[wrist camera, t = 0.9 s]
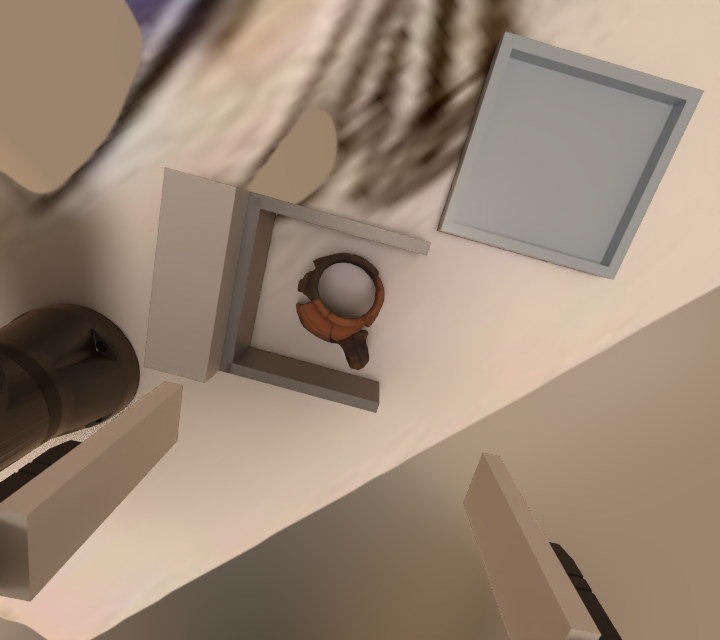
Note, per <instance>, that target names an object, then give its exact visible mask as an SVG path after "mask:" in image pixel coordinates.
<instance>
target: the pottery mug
mask: <svg viewBox="0 0 720 640" xmlns="http://www.w3.org/2000/svg"><path fill="white" fill-rule="evenodd" d="M313 262H314V264H315V267H316V269H315V270H313V271H310V272H309V273H307V274H306V275H305V276H304V278H303V279H301V280H300V281H299V284H298V291H299V292H302V293H303V294H305V295H306V296H307V297H308V298H309V299H310V300H311V302H309V303H306V304H303V305H301V304H300V303H297V304H296V310H297V314H298V317H299V319H300V322H301V324H302V325H303V327H304V328H306V329H307V330H308V331H309V332H311V333H312V334H313V335H315V336H317V337H318V338H320V339H322V340H324V341H327V342H331V343H337V344H339V345H340V346H341V347H342V348H343V350H344V353H345V356H346V359H347V362H348V364H349V366H350V368H352V369H357V370H359V369H361V368H363V367H364V366H365V365H366V364H367V363H368V361H369V353H368V347H367V344H366V337H367V335H368V332H367V331H366V330H361V329H362V327H363V326H364V325H366V326H367V327H370V326H371V325H372V323H373V322H374V320H375V319H376V317H377V316H378V314H379V312H380V309H381V307H382V305H383V302H384V287H383V284H382V281H381V279H380V277H379V276H378V275H379V272H378V270H377V269H376V268H375V267H374V266H373V265H372V264H371V263H369V262H368V261H367V260H366V259H364V258H362V257H360V256H357V255H351V254H348V253H339V254H333V255H329V256H325V257H322V258H318V259H316V260H314V261H313ZM336 263H351V264H353V265H356V266H358V267H360V268H362V269H363V270H364V271H365V272H366V273H367V274H368V275H369V276H370V278H371V279H372V280H373V282H374V284H375V287H376V292H375V301H374V304H373V306H372V307H371V309H370V310H369V311H368V312H367V313H366V314H364V315H363V316H361V317H358V318H354V319H348V318H342V317H339V316H337V315H335V314H333V313H332V312H330V311H329V310H328V309H327V308H326V307H325V305H324V304H323V302H322V300H321V298H320V297H319V292H318V283H319V279H320V277H321V275H322V273H323V271H324V270H325V269H326V268H328V267H329V266H331V265H333V264H336Z"/></svg>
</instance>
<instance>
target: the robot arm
mask: <svg viewBox="0 0 720 640" xmlns="http://www.w3.org/2000/svg"><path fill="white" fill-rule="evenodd" d="M138 382H139V368H138V363H137V359H136V356H135V353H134V351H133V349H132V347H131V345H130V343H129V341H128V340H127V338H126V337H125V336H124V334H123V333H122V332H121V331H120V330H119V329H118V328H117V327H116V326H115V325H114V324H113V323H112V322H111V321H109V320H108V319H107V318H105V317H104V316H102V315H101V314H99V313H97V312H95V311H93V310H91V309H88V308H85V307H82V306H78V305H72V304H56V305H51V306H47V307H42V308H38V309H34V310H31V311H28V312H26V313H23V314H22V315H20V316H18V317H17V318H15V319H14V320H13V321H11V322H10V323H9V324H7V325H5V326H4V327H2V328H0V472H1V471H2V470H4V469H5V468H7V467H8V466H10V465H11V464H13V463H14V462H16V461H17V460H19V459H20V458H22V457H23V456H25V455H27V454H28V453H30V452H31V451H33V450H34V449H36V448H37V447H39V446H40V445H42V444H43V443H45V442H47V441H48V440H50V439H53V438H56V437H59V436H62V435H66V434H69V433H72V432H76V431H79V430H82V429H84V428H89V427H92V426H95V425H98V424H101V423H103V422H105V421H107V420H108V419H110V418H111V417H113V416H114V415H116V414H117V413H119V412H120V411H121V410H123V409H124V408H125V407H126V406H127V405H128V404H129V403H130V402H131V400H132V399H133V397H134V395H135V393H136V390H137V387H138ZM182 388H183V385H178V384H174V383H169V382H163V383H162V384H161V385H159V386H158V387H157V388H155V389H154V390H153V391H151V392H150V393H149V394H147V395H146V396H144V397H143V398H142V399H140V400H139V401H138V402H136V403H135V404H134V405H132V406H131V407H130V408H128V409H127V410H126V411H124V412H123V413H121V414H120V415H119V416H117V417H116V418H115V419H113V420H112V421H111V422H109V423H108V424H107V425H105V426H104V427H103V428H101V429H100V430H98V431H97V432H96V433H94V434H93V435H92V436H90V437H89V438H88V439H86V440H85V441H84V442H78V441H73V440H69V441H67V442H65V443H62V444H60V445H57V446H55V447H52V448H50V449H49V450H47V451H46V452H44V453H43V454H41V455H40V456H38V457H37V458H35V459H34V460H33V461H32V463H30V462H29V463H28V464H27V465H25V466H24V467H22V468H21V469H19V471H18V472H17V473H13V474H12V475H10V476H9V477H8V478H6V479H5V480H3V481H2V482H0V596H5V597H10V598H15V599H20V600H25V601H31V600H32V599H33V598H34V597H35V596H36V595H37V594H38V593H39V592H40V590H41V589H42V588H43V587H44V586H45V585H46V584H47V583H48V582H49V581H50V580H51V578H52V577H53V576H54V575H55V574H56V573H57V572H58V571H59V570H60V569H61V567H62V566H63V565H64V564H65V563H66V562H67V561H68V560H69V559H70V558H71V557H72V555H73V554H74V553H75V552H76V551H77V550H78V549H79V548H80V547H81V546H82V544H83V543H84V542H85V541H86V540H87V539H88V538H89V537H90V536H91V535H92V534H93V532H94V531H95V530H96V529H97V528H98V527H99V526H100V525H101V524H102V523H103V522H104V520H105V519H106V518H107V517H108V516H109V515H110V514H111V513H112V512H113V511H114V509H115V508H116V507H117V506H118V505H119V504H120V503H121V502H122V501H123V500H124V499H125V497H126V496H127V495H128V494H129V493H130V492H131V491H132V490H133V489H134V488H135V486H136V485H137V484H138V483H139V482H140V481H141V480H142V479H143V478H144V477H145V476H146V474H147V473H148V472H149V471H150V470H151V469H152V468H153V467H154V466H155V465H156V463H157V462H158V461H159V460H160V459H161V458H162V457H163V456H164V455H165V454H166V453H167V451H168V450H169V449H170V448H171V447H172V446H173V445H174V444H175V443H176V442H177V438H178V428H179V418H180V408H181V398H182ZM463 504H464V507H465V510H466V513H467V516H468V518H469V522H470V525H471V528H472V531H473V534H474V537H475V539H476V542H477V545H478V548H479V551H480V554H481V557H482V560H483V563H484V566H485V569H486V572H487V575H488V578H489V581H490V584H491V587H492V590H493V592H494V596H495V599H496V601H497V604H498V607H499V610H500V613H501V616H502V619H503V622H504V625H505V628H506V631H507V634H508V637H509V640H622V639H621V637H620V635H619V634H618V632H617V631H616V629H615V627H614V626H613V624H612V622H611V621H610V619H609V617H608V616H607V614H606V613H605V611H604V609H603V608H602V606H601V604H600V603H599V601H598V600H597V598H596V596H595V595H594V594H593V593H592V590H591V588H590V586H589V585H588V583H587V582H586V580H585V579H583V575H582V574H581V572H580V570H579V569H578V567H577V565H576V564H575V562H574V560H573V559H572V558H571V557H570V556H569V555H568V554H567V553H566V552H565V550H564V549H563V548H562V547H561V546H560V545H559V544H556V543H551V542H548V540H547V538H546V537H545V535H544V533H543V531H542V530H541V528H540V526H539V524H538V523H537V521H536V519H535V517H534V516H533V514H532V512H531V510H530V509H529V507H528V505H527V503H526V501H525V500H524V498H523V496H522V494H521V493H520V491H519V489H518V487H517V486H516V484H515V482H514V481H513V479H512V477H511V475H510V473H509V472H508V470H507V468H506V466H505V465H504V463H503V461H502V460H501V458H500V456H497V455H492V454H488V453H482V456H481V458H480V461H479V464H478V466H477V469H476V471H475V474H474V477H473V479H472V481H471V484H470V487H469V489H468V492H467V495H466V497H465V500H464V502H463Z"/></svg>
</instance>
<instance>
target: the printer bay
mask: <svg viewBox="0 0 720 640" xmlns="http://www.w3.org/2000/svg"><path fill="white" fill-rule="evenodd" d="M276 213H278V214H281V215H285V216H288V217H292V218H295V219H299V220H302V221H306V222H310V223H313V224H317V225H320V226H324V227H327V228H331V229H334V230H338V231H341V232H345V233H349V234H352V235H356V236H359V237H363V238H366V239H370V240H373V241H377V242H381V243H384V244H388V245H391V246H395V247H398V248H402V249H405V250H409V251H412V252H416V253H420V254H423V255H427V253H428V250H429V247H430V244H431V243H430V242H427V241H423V240H420V239H416V238H412V237H409V236H405V235H402V234H398V233H395V232H391V231H388V230H384V229H381V228H377V227H374V226H370V225H366V224H363V223H359V222H356V221H352V220H349V219H345V218H342V217H338V216H335V215H331V214H328V213H324V212H320V211H317V210H313V209H310V208H306V207H303V206H299V205H296V204H292V203H289V202H285V201H281V200H278V199H274V198H271V197H267V196H264V195H260V194H257V193H253V192H250V191H246V190H243V189H240V188H237V187H233V186H230V185H226V184H223V183H219V182H215V181H212V180H208V179H205V178H201V177H198V176H194V175H191V174H187V173H184V172H180V171H177V170H173V169H170V168H166V167H165V170H164V180H163V189H162V199H161V208H160V218H159V227H158V237H157V246H156V256H155V265H154V275H153V284H152V294H151V303H150V313H149V322H148V332H147V341H146V351H145V360H144V367H148V368H152V369H155V370H159V371H163V372H166V373H170V374H174V375H177V376H181V377H185V378H189V379H192V380H196V381H200V382H203V383H205V382H206V381H208V380H209V379H210V378H211V377H212V376H213V375H214V374H215V373H217V372H218V371H219V370H220V371H223V372H227V373H231V374H234V375H238V376H242V377H246V378H249V379H253V380H257V381H260V382H264V383H268V384H271V385H275V386H279V387H283V388H286V389H290V390H294V391H297V392H301V393H305V394H308V395H312V396H316V397H319V398H323V399H327V400H331V401H334V402H338V403H342V404H345V405H349V406H353V407H356V408H360V409H364V410H367V411H371V412H375V413H376V412H377V409H378V406H379V382H376V381H373V380H369V379H365V378H362V377H358V376H354V375H351V374H347V373H343V372H340V371H336V370H332V369H329V368H325V367H321V366H318V365H314V364H310V363H307V362H303V361H299V360H296V359H292V358H288V357H285V356H281V355H277V354H274V353H270V352H266V351H263V350H259V349H255V348H252V347H250V343H251V338H252V333H253V328H254V323H255V318H256V312H257V307H258V302H259V297H260V292H261V287H262V282H263V276H264V271H265V266H266V261H267V256H268V251H269V246H270V240H271V235H272V230H273V225H274V220H275V215H276Z"/></svg>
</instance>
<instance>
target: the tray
mask: <svg viewBox="0 0 720 640" xmlns="http://www.w3.org/2000/svg"><path fill="white" fill-rule="evenodd" d="M703 92H704V91H703V90H700V89H697V88H693V87H690V86H686V85H683V84H680V83H676V82H673V81H670V80H666V79H663V78H660V77H656V76H653V75H650V74H646V73H643V72H639V71H636V70H633V69H629V68H626V67H623V66H619V65H616V64H613V63H609V62H606V61H602V60H599V59H596V58H592V57H589V56H586V55H582V54H579V53H576V52H572V51H569V50H566V49H562V48H559V47H555V46H552V45H549V44H545V43H542V42H539V41H535V40H532V39H529V38H525V37H522V36H519V35H515V34H512V33H508V32H505V33H504V35H503V36H502V38H501V39H500V41H499V43H498V44H497V46H496V49H495V52H494V55H493V58H492V61H491V64H490V68H489V71H488V74H487V77H486V80H485V83H484V86H483V89H482V92H481V95H480V99H479V102H478V105H477V108H476V111H475V114H474V117H473V120H472V123H471V126H470V130H469V133H468V136H467V139H466V142H465V145H464V148H463V151H462V154H461V157H460V161H459V164H458V167H457V170H456V173H455V176H454V179H453V182H452V185H451V188H450V192H449V195H448V198H447V201H446V204H445V207H444V210H443V213H442V216H441V219H440V223H439V226H438V229H437V231H441V232H444V233H448V234H451V235H455V236H458V237H462V238H465V239H469V240H472V241H476V242H479V243H483V244H486V245H490V246H494V247H497V248H501V249H504V250H508V251H511V252H515V253H518V254H522V255H525V256H529V257H532V258H536V259H539V260H543V261H546V262H550V263H553V264H557V265H561V266H564V267H568V268H571V269H575V270H578V271H582V272H585V273H589V274H592V275H596V276H599V277H604V278H609V279H614V278H615V276H616V274H617V272H618V270H619V267H620V265H621V263H622V261H623V259H624V257H625V255H626V253H627V251H628V249H629V247H630V244H631V242H632V240H633V238H634V236H635V234H636V232H637V230H638V228H639V226H640V224H641V221H642V219H643V217H644V215H645V213H646V211H647V209H648V207H649V205H650V203H651V201H652V199H653V196H654V194H655V192H656V190H657V188H658V186H659V184H660V182H661V180H662V178H663V176H664V173H665V171H666V169H667V167H668V165H669V163H670V161H671V159H672V157H673V155H674V153H675V151H676V148H677V146H678V144H679V142H680V140H681V138H682V136H683V134H684V132H685V130H686V128H687V125H688V123H689V121H690V119H691V117H692V115H693V113H694V111H695V109H696V107H697V105H698V103H699V100H700V98H701V96H702V94H703Z"/></svg>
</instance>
